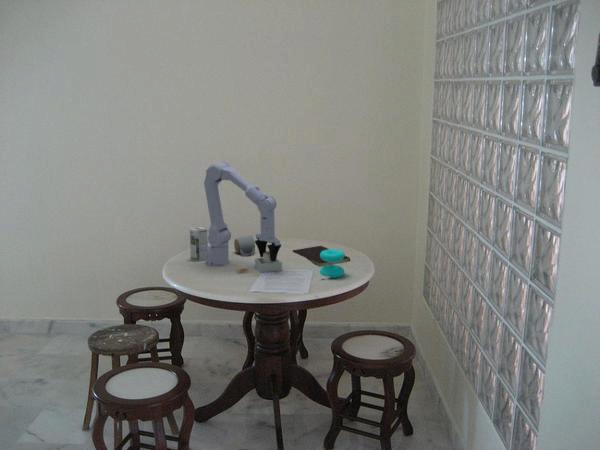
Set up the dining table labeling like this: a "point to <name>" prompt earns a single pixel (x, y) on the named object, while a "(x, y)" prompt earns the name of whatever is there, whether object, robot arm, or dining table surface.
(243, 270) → the brown rectangular board
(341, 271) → the donuts
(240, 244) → the ceramic mug
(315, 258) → the hardcover book
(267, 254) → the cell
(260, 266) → the pale grey open tray
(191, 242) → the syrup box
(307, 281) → the dining table surface
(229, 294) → the dining table surface
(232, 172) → the robot arm
